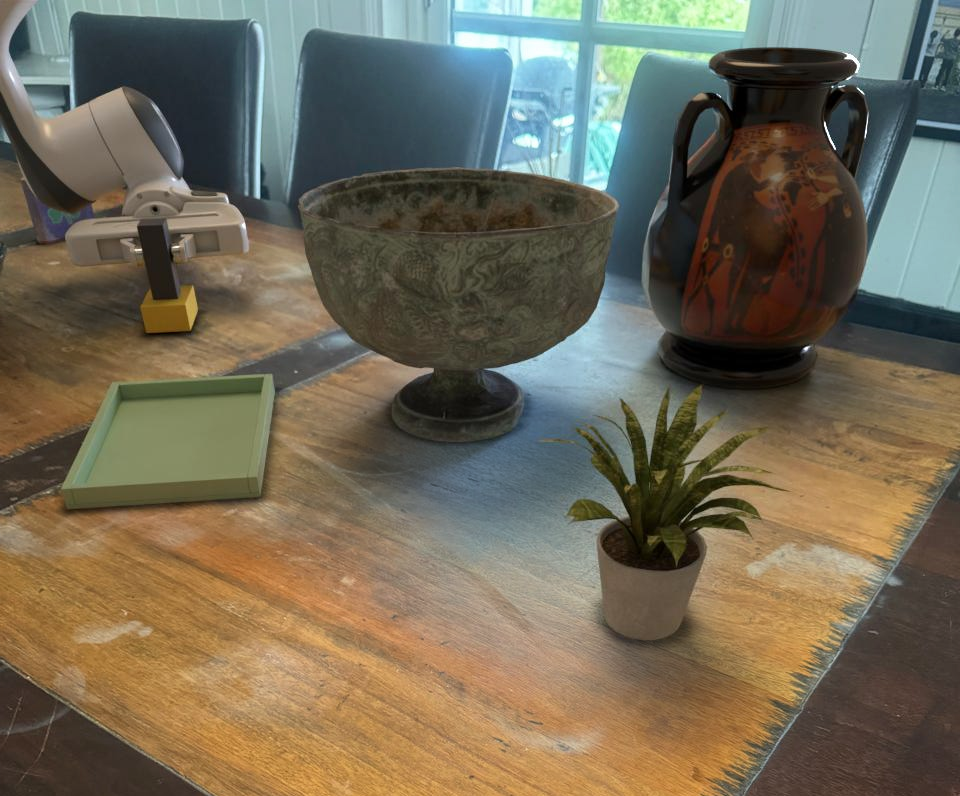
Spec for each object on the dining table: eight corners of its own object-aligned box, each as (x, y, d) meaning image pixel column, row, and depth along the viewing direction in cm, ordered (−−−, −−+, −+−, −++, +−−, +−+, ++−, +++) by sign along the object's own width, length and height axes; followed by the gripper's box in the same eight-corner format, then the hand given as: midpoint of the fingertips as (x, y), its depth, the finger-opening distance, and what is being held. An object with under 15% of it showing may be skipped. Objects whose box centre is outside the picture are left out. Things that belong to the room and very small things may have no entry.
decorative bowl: (264, 440, 86) (237, 204, 73) (388, 347, 105) (383, 147, 92) (539, 502, 78) (561, 252, 66) (619, 390, 97) (647, 180, 85)
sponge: (146, 333, 107) (122, 231, 100) (155, 312, 113) (133, 214, 106) (190, 331, 108) (170, 229, 101) (198, 310, 113) (179, 212, 106)
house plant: (587, 722, 57) (607, 480, 47) (493, 599, 67) (492, 378, 57) (781, 660, 61) (838, 427, 51) (665, 554, 71) (693, 341, 61)
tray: (67, 511, 77) (60, 489, 76) (117, 402, 94) (111, 382, 93) (260, 499, 78) (256, 476, 77) (275, 393, 95) (272, 373, 94)
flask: (42, 246, 137) (19, 165, 130) (34, 242, 138) (10, 162, 132) (102, 234, 142) (82, 155, 135) (93, 230, 144) (73, 152, 137)
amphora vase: (778, 319, 110) (830, 37, 93) (882, 392, 94) (969, 65, 77) (604, 337, 106) (625, 45, 89) (680, 416, 90) (724, 77, 73)
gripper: (63, 203, 112) (52, 234, 101) (239, 191, 115) (246, 220, 105) (77, 258, 115) (68, 294, 105) (247, 245, 119) (254, 278, 109)
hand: (158, 257), depth 105 cm, fingers closed on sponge, 3 cm apart
